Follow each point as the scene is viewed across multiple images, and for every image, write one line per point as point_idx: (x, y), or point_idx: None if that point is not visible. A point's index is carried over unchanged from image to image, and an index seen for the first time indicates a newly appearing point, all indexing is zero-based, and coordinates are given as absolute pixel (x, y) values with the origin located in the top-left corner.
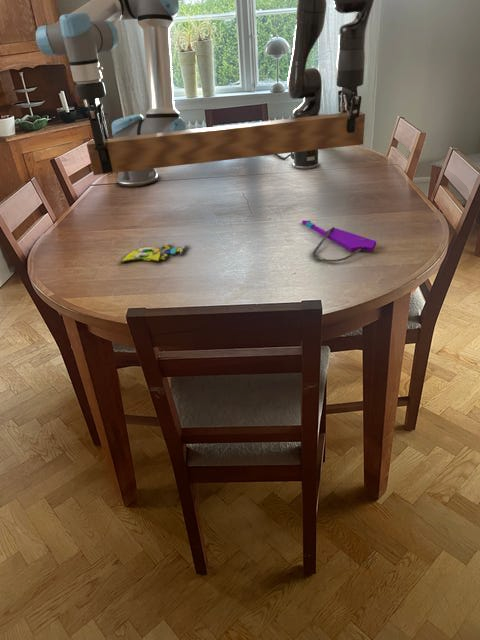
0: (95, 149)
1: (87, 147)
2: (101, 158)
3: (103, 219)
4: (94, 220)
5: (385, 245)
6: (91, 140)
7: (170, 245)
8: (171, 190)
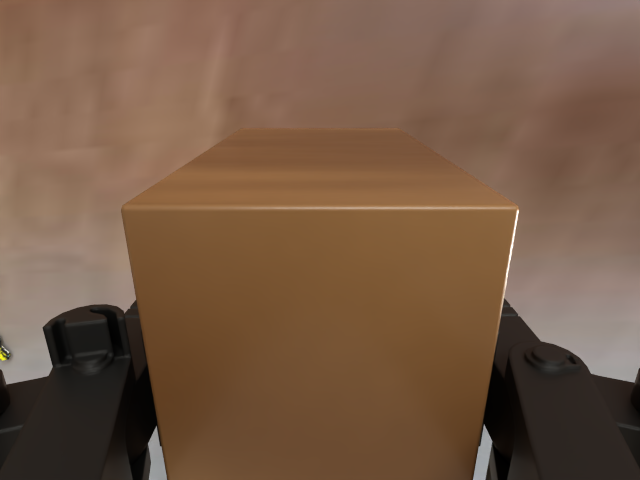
0: (61, 325)
1: (144, 195)
2: (133, 304)
3: (373, 78)
4: (376, 29)
5: None
6: (487, 267)
7: (5, 359)
8: (623, 363)
